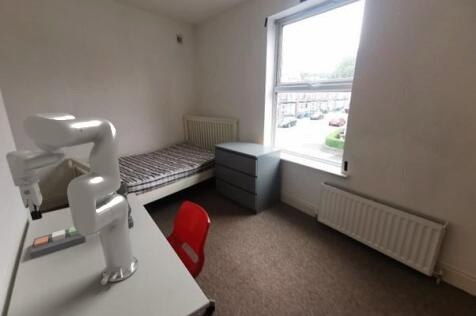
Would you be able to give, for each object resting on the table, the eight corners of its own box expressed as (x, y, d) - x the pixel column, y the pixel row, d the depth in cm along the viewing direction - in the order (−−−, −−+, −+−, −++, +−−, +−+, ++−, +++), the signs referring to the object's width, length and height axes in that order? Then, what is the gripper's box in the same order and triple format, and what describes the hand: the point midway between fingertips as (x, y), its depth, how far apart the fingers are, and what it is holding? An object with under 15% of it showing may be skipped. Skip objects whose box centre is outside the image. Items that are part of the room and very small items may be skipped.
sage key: (81, 231, 107) (80, 225, 106) (82, 235, 104) (80, 229, 103) (70, 234, 105) (69, 228, 104) (70, 238, 101) (69, 232, 100)
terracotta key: (50, 242, 100) (48, 236, 99) (49, 247, 97) (47, 240, 96) (37, 246, 98) (35, 239, 97) (36, 251, 94) (34, 244, 94)
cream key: (66, 235, 104) (64, 229, 103) (65, 240, 100) (64, 233, 99) (54, 239, 101) (52, 232, 100) (53, 243, 98) (51, 237, 97)
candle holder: (136, 225, 115) (129, 182, 109) (125, 231, 110) (117, 186, 103) (129, 222, 118) (122, 179, 112) (118, 227, 113) (110, 183, 106)
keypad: (84, 229, 111) (83, 224, 110) (85, 241, 102) (84, 236, 101) (35, 244, 100) (34, 238, 100) (31, 258, 91) (30, 253, 90)
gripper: (36, 183, 86) (47, 223, 91) (40, 173, 97) (49, 209, 102) (9, 187, 81) (23, 229, 86) (17, 176, 93) (28, 214, 98)
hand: (37, 218), depth 94 cm, fingers closed
